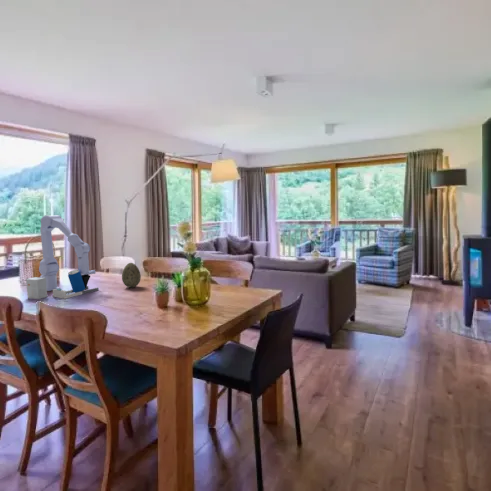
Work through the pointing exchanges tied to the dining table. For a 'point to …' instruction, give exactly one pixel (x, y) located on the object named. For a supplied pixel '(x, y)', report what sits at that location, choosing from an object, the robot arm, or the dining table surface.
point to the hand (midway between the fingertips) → (84, 288)
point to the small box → (36, 288)
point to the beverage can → (76, 281)
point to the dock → (62, 293)
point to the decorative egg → (131, 275)
